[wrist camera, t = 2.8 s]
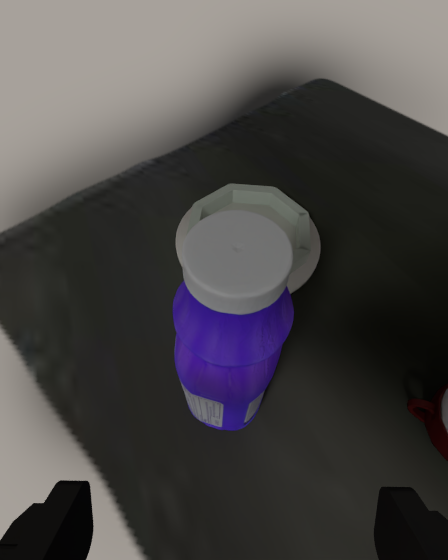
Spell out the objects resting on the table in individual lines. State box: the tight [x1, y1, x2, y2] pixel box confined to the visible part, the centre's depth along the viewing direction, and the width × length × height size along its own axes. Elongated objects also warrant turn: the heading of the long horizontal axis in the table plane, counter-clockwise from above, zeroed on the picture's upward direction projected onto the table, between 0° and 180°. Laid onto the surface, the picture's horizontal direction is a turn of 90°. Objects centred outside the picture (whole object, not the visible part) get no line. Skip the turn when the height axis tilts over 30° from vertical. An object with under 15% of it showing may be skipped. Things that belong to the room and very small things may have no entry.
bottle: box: [173, 210, 294, 430], centre depth 19 cm, size 7×6×17 cm
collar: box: [176, 184, 320, 294], centre depth 33 cm, size 15×15×2 cm
